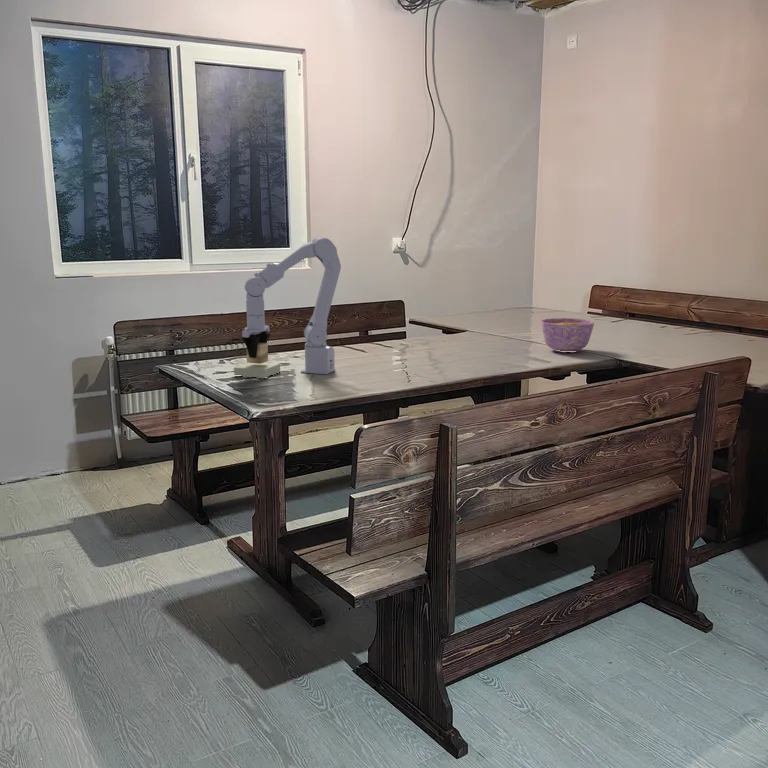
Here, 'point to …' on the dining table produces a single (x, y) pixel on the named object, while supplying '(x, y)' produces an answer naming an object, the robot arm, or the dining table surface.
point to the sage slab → (257, 369)
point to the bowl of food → (567, 333)
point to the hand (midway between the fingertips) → (257, 356)
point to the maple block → (259, 354)
